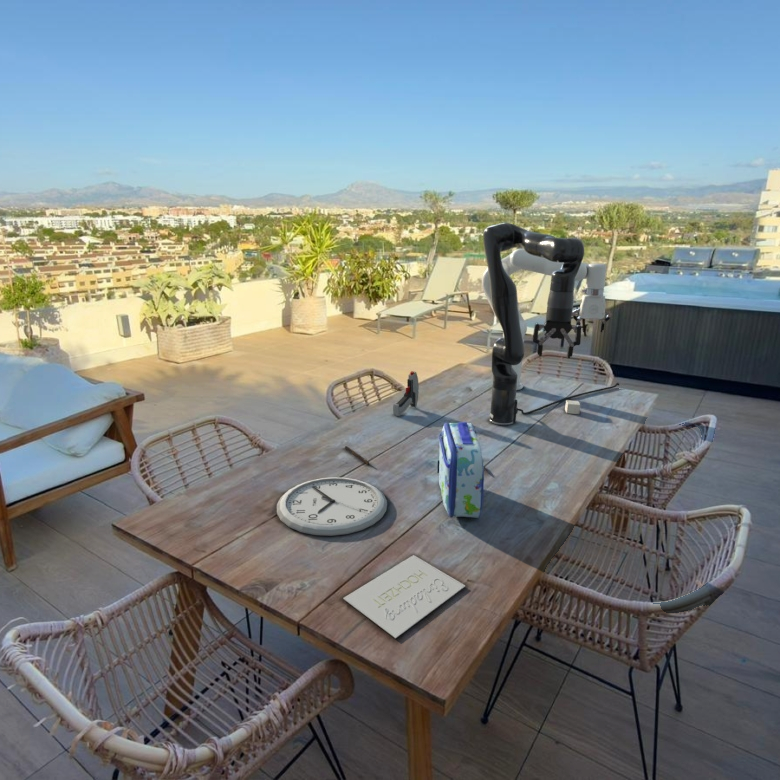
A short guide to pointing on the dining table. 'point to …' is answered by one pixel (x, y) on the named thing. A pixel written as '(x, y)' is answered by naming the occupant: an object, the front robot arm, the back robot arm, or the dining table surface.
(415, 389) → the toy gun
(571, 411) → the block
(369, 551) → the dining table surface
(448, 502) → the lunch box
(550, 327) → the front robot arm
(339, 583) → the dining table surface
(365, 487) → the wall clock
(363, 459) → the brown thin rod
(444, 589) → the invitation card
